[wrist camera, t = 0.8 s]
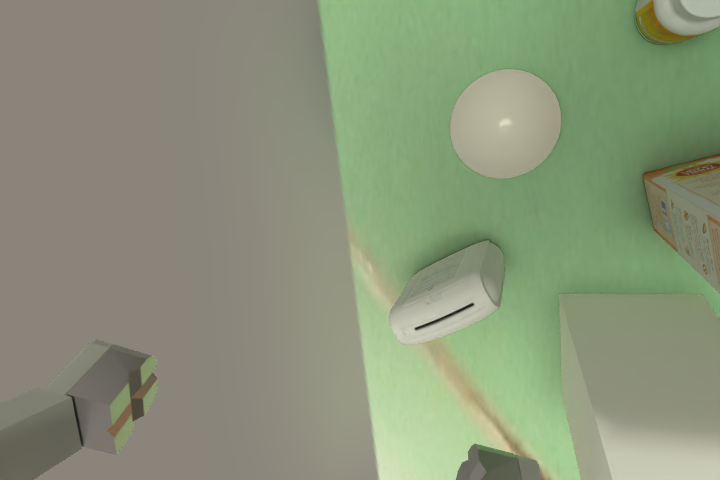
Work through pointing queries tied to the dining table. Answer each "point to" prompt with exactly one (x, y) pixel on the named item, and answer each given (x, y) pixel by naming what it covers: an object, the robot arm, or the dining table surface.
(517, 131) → the white domed disc
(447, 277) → the photo printer
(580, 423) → the milk
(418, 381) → the dining table surface
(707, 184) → the cracker box
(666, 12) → the supplement bottle
